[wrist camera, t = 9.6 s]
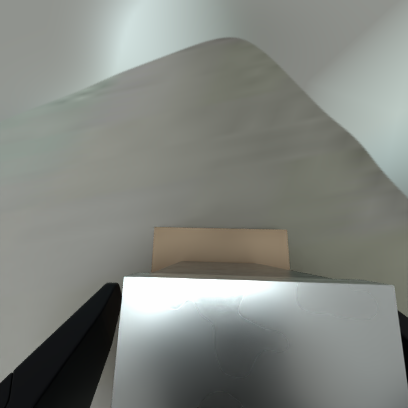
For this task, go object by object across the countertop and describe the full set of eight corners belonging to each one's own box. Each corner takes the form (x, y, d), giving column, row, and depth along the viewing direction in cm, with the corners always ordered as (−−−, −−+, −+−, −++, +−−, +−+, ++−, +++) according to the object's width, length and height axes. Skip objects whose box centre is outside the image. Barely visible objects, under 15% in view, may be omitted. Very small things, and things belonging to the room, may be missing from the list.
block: (284, 367, 17) (297, 383, 15) (151, 364, 17) (143, 380, 15) (276, 233, 20) (287, 229, 17) (160, 231, 20) (154, 227, 17)
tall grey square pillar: (259, 348, 15) (444, 662, 4) (176, 345, 15) (87, 648, 4) (258, 261, 16) (394, 285, 5) (180, 259, 16) (124, 277, 5)
